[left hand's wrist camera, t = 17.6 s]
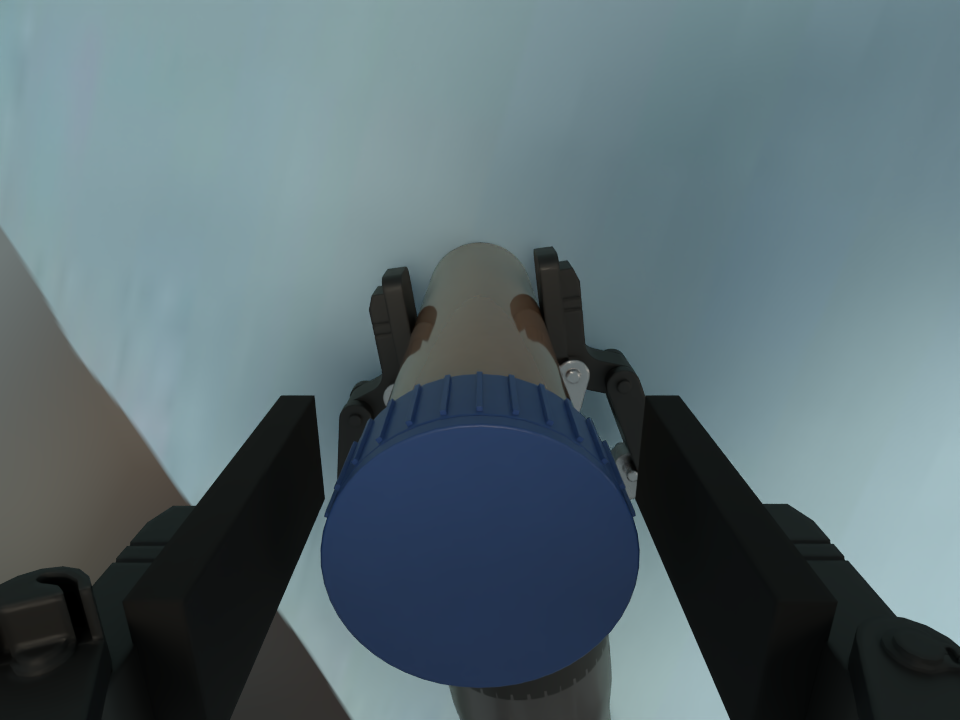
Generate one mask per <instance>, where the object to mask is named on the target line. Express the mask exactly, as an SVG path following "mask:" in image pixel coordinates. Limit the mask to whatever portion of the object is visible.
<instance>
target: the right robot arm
mask: <svg viewBox="0 0 960 720" xmlns="http://www.w3.org/2000/svg"><path fill="white" fill-rule="evenodd" d="M534 262H535V271H536V280H537V289H538V298H539V307H540V311H541V314H542V317H543V320H544V322H545V325H546V328H547V331H548V334H549V337H550V340H551V342H552V345H553V348H554V351H555V354H556V357H557V360H558V362H559V365H560V368H561V371H562V374H563V377H564V380H565V382H566V385H567V388H568V391H569V394H570V397H571V400H572V402H573V405H574V408H575V409H576V410H577V411H579V412H580V409H581V406H582V402H583V399H584V395H585V392H586V390H591V391H596V392H601V393H605V394H606V396H607V399H608V402H609V404H610V407H611V410H612V412H613V415H614V418H615V420H616V423H617V426H618V429H619V431H620V434H621V437H622V439H623V443H622V442H620V443H617V444H616V445H615V447H614V448H613V449H612V450H611V453H612V456H613V458H614V460H615V463H616V465H617V468H618V470H619V472H620V475H621V477H622V480H623V482H624V484H625V487H626V488H625V489H626V492H627V494H628V497H629V499H630V500H631V499H634V498H635V495H636V486H637V476H638V466H639V456H640V446H641V436H642V426H643V416H644V407H645V394H644V391H643V388H642V386H641V383H640V380H639V378H638V376H637V375H636V373H635V372H634V370H633V369H632V367H631V366H630V364H629V363H628V361H627V360H626V358H625V357H624V355H623V354H622V353H621V352H620V351H619V350H616V349H607V350H604V351H603V350H598V349H594V348H591V347H589V346H587V345H586V344H585V336H584V324H583V313H582V301H581V289H580V281H579V279H578V277H577V275H576V273H575V271H574V269H573V268H572V266H571V265H570V263H569V262H568V261H560V262H559V261H558V256H557V252H556V251H555V249H554V248H553V247H552V246H551V247H544V248H537V249H534ZM369 312H370V317H371V321H372V325H373V331H374V335H375V340H376V345H377V350H378V355H379V359H380V364H381V369H382V374H381V375H380V376H379V377H377V378H375V379H373V380H371V381H361V382H359V383H357V384H356V385H355V386H354V388H353V390H352V392H351V394H350V398H349V400H348V402H347V404H346V405H345V406H344V408H343V409H342V411H341V413H340V417H339V443H338V472H337V480H338V477H339V475H340V472H341V470H342V468H343V465H344V463H345V460H346V458H347V456H348V453H349V451H350V448H351V446H352V444H353V442H354V441H355V442H357V443H358V441H359V439H360V438H361V436H362V433H363V431H364V428H365V426H366V423H367V421H368V420H369V419H370V418H371V419H373V420H374V419H375V418H376V417H377V416H378V414H379V413H380V412H381V411H383V410H384V409H385V408H386V406H387V403H388V400H389V397H390V394H391V391H392V389H393V386H394V383H395V380H396V377H397V374H398V371H399V369H400V366H401V363H402V360H403V357H404V354H405V351H406V349H407V346H408V343H409V340H410V337H411V334H412V331H413V328H414V326H415V323H416V320H417V314H416V308H415V303H414V297H413V292H412V287H411V281H410V276H409V272H408V268H407V267H399V268H392V269H388V270H387V271H386V272H385V274H384V275H383V277H382V286H378V287H377V289H376V290H375V292H374V293H373V294H372V297H371V302H370V307H369ZM611 681H612V674H611V657H610V646H609V634H608V635H607V636H606V637H605V638H604V639H603V640H602V641H601V642H600V643H599V644H598V645H597V646H596V647H594V648H593V649H592V650H591V651H590V652H588V653H587V654H586V655H585V656H583V657H581V658H580V659H578V660H577V661H575V662H574V663H572V664H571V665H569V666H567V667H565V668H563V669H561V670H559V671H557V672H554V673H552V674H550V675H547V676H544V677H541V678H539V679H536V680H532V681H528V682H524V683H520V684H515V685H509V686H502V687H487V688H473V687H458V686H452V685H449V688H450V691H451V695H452V699H453V702H454V705H455V708H456V710H457V713H458V715H459V717H460V720H611V718H610V707H609V703H610V693H611Z"/></svg>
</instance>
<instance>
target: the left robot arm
mask: <svg viewBox="0 0 960 720" xmlns="http://www.w3.org/2000/svg"><path fill="white" fill-rule="evenodd" d="M324 499H325V495H324V486H323V476H322V466H321V456H320V446H319V436H318V426H317V416H316V407H315V397H314V396H280V398H279V399H278V400H277V402H276V403H275V404H274V405H273V407H272V408H271V409H270V411H269V412H268V413H267V414H266V416H265V417H264V418H263V420H262V421H261V422H260V424H259V425H258V426H257V427H256V429H255V430H254V431H253V433H252V434H251V435H250V437H249V438H248V439H247V440H246V442H245V443H244V444H243V446H242V447H241V448H240V449H239V451H238V452H237V453H236V455H235V456H234V457H233V459H232V460H231V461H230V462H229V464H228V465H227V466H226V468H225V469H224V470H223V471H222V473H221V474H220V475H219V477H218V478H217V479H216V481H215V482H214V483H213V484H212V486H211V487H210V488H209V490H208V491H207V492H206V494H205V495H204V496H203V497H202V499H201V500H200V501H199V503H198V504H197V505H196V506H172V507H171V508H169V509H168V510H166V511H164V512H163V513H161V514H160V515H158V516H157V517H155V518H154V519H152V520H151V521H149V522H148V523H147V524H146V525H145V526H144V527H143V528H142V529H141V530H140V532H139V533H138V534H137V535H136V536H135V538H134V539H133V540H132V541H131V542H130V546H127V547H126V548H125V549H124V550H123V551H122V552H121V554H120V555H119V556H118V557H117V558H116V563H112V564H111V565H110V566H109V567H108V569H107V570H106V571H105V572H104V573H103V574H102V576H101V577H100V578H99V579H98V580H97V581H96V582H95V584H94V585H93V586H92V585H91V582H90V578H89V576H88V575H87V574H85V573H84V572H83V571H82V570H80V569H76V568H70V567H64V566H62V567H54V568H45V569H39V570H36V571H33V572H29V573H26V574H23V575H20V576H17V577H15V578H13V579H11V580H9V581H6V582H4V583H2V584H0V720H230V718H231V716H232V713H233V711H234V709H235V706H236V704H237V702H238V699H239V697H240V695H241V692H242V690H243V688H244V685H245V683H246V681H247V678H248V676H249V674H250V671H251V669H252V667H253V664H254V662H255V660H256V657H257V655H258V653H259V651H260V648H261V646H262V644H263V641H264V639H265V637H266V634H267V632H268V630H269V627H270V625H271V623H272V620H273V618H274V616H275V613H276V611H277V609H278V606H279V604H280V602H281V599H282V597H283V595H284V592H285V590H286V588H287V585H288V583H289V581H290V578H291V576H292V574H293V571H294V569H295V567H296V565H297V562H298V560H299V558H300V555H301V553H302V551H303V548H304V546H305V544H306V541H307V539H308V537H309V534H310V532H311V530H312V527H313V525H314V523H315V520H316V518H317V516H318V513H319V511H320V509H321V506H322V504H323V502H324ZM635 499H636V502H637V504H638V506H639V509H640V511H641V513H642V516H643V518H644V520H645V523H646V525H647V527H648V530H649V532H650V534H651V537H652V539H653V541H654V544H655V546H656V548H657V551H658V553H659V555H660V558H661V560H662V562H663V565H664V567H665V569H666V571H667V574H668V576H669V578H670V581H671V583H672V585H673V588H674V590H675V592H676V595H677V597H678V599H679V602H680V604H681V606H682V609H683V611H684V613H685V616H686V618H687V620H688V623H689V625H690V627H691V630H692V632H693V634H694V637H695V639H696V641H697V644H698V646H699V648H700V651H701V653H702V655H703V658H704V660H705V662H706V664H707V667H708V669H709V671H710V674H711V676H712V678H713V681H714V683H715V685H716V688H717V690H718V692H719V695H720V697H721V699H722V702H723V704H724V706H725V709H726V711H727V713H728V716H729V718H730V720H960V647H959V646H958V645H957V644H956V643H955V642H953V641H952V640H951V639H950V638H948V637H947V636H945V635H943V634H941V633H939V632H937V631H936V630H934V629H932V628H930V627H928V626H926V625H924V624H921V623H918V622H915V621H912V620H909V619H906V618H902V617H897V616H896V615H895V614H894V613H893V612H892V611H891V609H890V608H889V607H888V606H887V605H886V604H885V603H884V601H883V600H882V599H881V598H880V597H879V596H878V595H877V593H876V592H875V591H874V590H873V589H872V588H871V586H870V585H869V584H868V583H867V582H866V581H865V580H864V578H863V577H862V576H861V575H860V574H859V573H858V572H857V570H856V569H855V568H854V567H853V566H852V565H851V564H850V562H849V561H845V559H844V555H843V554H842V553H841V552H840V551H839V550H838V549H837V547H836V546H835V545H834V544H831V543H830V539H829V538H828V537H827V536H826V535H825V534H824V532H823V531H822V530H821V529H820V528H819V527H818V526H817V524H816V523H815V522H814V521H813V520H811V519H810V518H808V517H807V516H805V515H804V514H802V513H801V512H799V511H798V510H796V509H794V508H793V507H791V506H790V505H788V504H762V503H761V501H760V500H759V499H758V497H757V496H756V495H755V494H754V492H753V491H752V490H751V488H750V487H749V486H748V484H747V483H746V482H745V481H744V479H743V478H742V477H741V475H740V474H739V473H738V471H737V470H736V469H735V468H734V466H733V465H732V464H731V462H730V461H729V460H728V459H727V457H726V456H725V455H724V453H723V452H722V451H721V449H720V448H719V447H718V446H717V444H716V443H715V442H714V440H713V439H712V438H711V437H710V435H709V434H708V433H707V431H706V430H705V429H704V427H703V426H702V425H701V424H700V422H699V421H698V420H697V418H696V417H695V416H694V414H693V413H692V412H691V411H690V409H689V408H688V407H687V405H686V404H685V403H684V402H683V400H682V399H681V398H680V396H646V397H645V407H644V416H643V426H642V436H641V446H640V456H639V466H638V476H637V486H636V495H635Z"/></svg>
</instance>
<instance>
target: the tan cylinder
mask: <svg viewBox="0 0 960 720" xmlns="http://www.w3.org/2000/svg"><path fill="white" fill-rule="evenodd" d="M477 372H483V374H489V375H501V376H507V377H508V376H509V374H511V375H514V376H515V378H517V379H521V380H524V381H527V382H530V383H533V384H536V385H539V383H540V384H543V385H545V389H547V390H549V391H551V392H553V393H554V394H556V395H557V396H559V397H561V398H562V399H564V400H565V399H566V398H568V399H569V400H571V397H570V394H569V391H568V388H567V385H566V382H565V380H564V377H563V374H562V371H561V368H560V365H559V362H558V360H557V357H556V354H555V351H554V348H553V345H552V342H551V340H550V337H549V334H548V331H547V328H546V325H545V322H544V320H543V317H542V314H541V311H540V308H539V305H538V302H537V300H536V297H535V294H534V291H533V288H532V285H531V282H530V280H529V277H528V274H527V272H526V270H525V268H524V266H523V265H522V263H521V262H520V261H519V260H518V259H517V258H516V257H515V256H514V255H513V254H512V253H511V252H509V251H508V250H506V249H504V248H502V247H500V246H497V245H494V244H490V243H470V244H466V245H463V246H460V247H458V248H456V249H454V250H452V251H451V252H449V253H448V254H447V255H446V256H445V257H444V258H443V259H442V260H441V261H440V262H439V263H438V265H437V266H436V268H435V270H434V272H433V274H432V277H431V280H430V283H429V286H428V288H427V291H426V294H425V297H424V300H423V303H422V306H421V308H420V311H419V314H418V317H417V320H416V323H415V326H414V328H413V331H412V334H411V337H410V340H409V343H408V346H407V349H406V351H405V354H404V357H403V360H402V363H401V366H400V369H399V371H398V374H397V377H396V380H395V383H394V386H393V389H392V391H391V394H390V397H389V400H388V401H390V400H391V399H394V401H395V400H396V399H398V398H400V397H401V396H403V395H404V394H406V393H408V392H409V391H411V390H413V389H414V387H415V385H417V384H420V385H421V386H422V385H424V384H427V383H430V382H433V381H437V380H440V379H443V378H444V377H445V375H449V374H450V375H451V377H454V376H459V375H471V374H477ZM571 402H572V400H571ZM387 404H388V403H387ZM572 405H573V402H572ZM386 407H387V406H386ZM573 407H574V405H573Z"/></svg>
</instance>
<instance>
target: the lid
mask: <svg viewBox="0 0 960 720" xmlns="http://www.w3.org/2000/svg"><path fill="white" fill-rule="evenodd" d="M625 488H626V487H625V484H624V482H623V480H622V477H621V475H620V472H619V470H618V468H617V465H616V463H615V460H614V458H613V456H612V453H611V451H610V448H609V446H608V444H607V442H606V440H605V441H603V442H602V441H601V439H600V438H599V436H598V434H597V431H596V429H595V426H594V424H593V421H592V420H591V419H590V418H587V419H585V418H584V417H583V415H582V414H581V413H580V412H579V411H577V410H576V409H575V408H574V407H573V405H572V402H571V400H569V399H568V398H566V399H565V400H564V399H562V398H561V397H559V396H557V395H556V394H554V393H553V392H551V391H549V390H547V389H545V385H543V384H540V383H539V385H536V384H533V383H530V382H527V381H524V380H521V379H517V378H515V376H514V375H511V374H509V376H508V377H507V376H501V375H489V374H483V372H477V374H471V375H459V376H454V377H451V375H450V374H449V375H445V377H444V378H443V379H440V380H437V381H433V382H430V383H427V384H424V385H422V386H421V385H420V384H417V385H415V387H414V389H413V390H411V391H409V392H408V393H406V394H404V395H403V396H401V397H400V398H398V399H396V400H395V401H394V399H391V400H390V401H388V404H387V407H386V408H385V409H384V410H383V411H381V412H380V413H379V414H378V416H377V417H376V418H375V419H374V420H373V419H371V418H370V419H369V420H368V421H367V423H366V426H365V428H364V431H363V433H362V436H361V438H360V439H359V441H358V443H357V442H355V441H354V442H353V444H352V446H351V448H350V451H349V453H348V456H347V458H346V460H345V463H344V465H343V468H342V470H341V472H340V475H339V477H338V480H337V482H336V484H335V487H334V489H335V490H334V492H333V495H332V497H331V500H330V502H329V504H328V507H327V509H326V512H325V516H324V517H327V520H326V523H325V527H324V530H323V535H322V543H321V569H322V574H323V580H324V584H325V587H326V590H327V593H328V596H329V599H330V601H331V603H332V605H333V607H334V609H335V611H336V613H337V615H338V616H339V618H340V619H341V621H342V622H343V624H344V625H345V626H346V628H347V629H348V630H349V631H350V633H351V634H352V635H353V636H354V637H355V638H356V639H357V640H358V641H359V642H360V643H361V644H362V645H363V646H364V647H366V648H367V649H368V650H369V651H370V652H372V653H373V654H374V655H376V656H377V657H379V658H380V659H382V660H383V661H385V662H386V663H388V664H390V665H391V666H393V667H395V668H397V669H399V670H401V671H403V672H405V673H408V674H411V675H413V676H416V677H419V678H421V679H424V680H428V681H432V682H436V683H440V684H445V685H452V686H458V687H473V688H487V687H502V686H509V685H515V684H520V683H524V682H528V681H532V680H536V679H539V678H541V677H544V676H547V675H550V674H552V673H554V672H557V671H559V670H561V669H563V668H565V667H567V666H569V665H571V664H572V663H574V662H575V661H577V660H578V659H580V658H581V657H583V656H585V655H586V654H587V653H588V652H590V651H591V650H592V649H593V648H594V647H596V646H597V645H598V644H599V643H600V642H601V641H602V640H603V639H604V638H605V637H606V636H607V635H608V634H609V633H610V632H611V630H612V629H613V628H614V626H615V625H616V624H617V622H618V621H619V620H620V618H621V617H622V615H623V613H624V611H625V609H626V607H627V605H628V604H629V602H630V599H631V596H632V593H633V591H634V588H635V585H636V580H637V575H638V570H639V551H640V550H639V542H638V534H637V530H636V526H635V523H634V520H633V517H634V516H636V515H635V511H634V509H633V506H632V504H631V501H630V499H629V497H628V494H627V492H626V489H625Z"/></svg>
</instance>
